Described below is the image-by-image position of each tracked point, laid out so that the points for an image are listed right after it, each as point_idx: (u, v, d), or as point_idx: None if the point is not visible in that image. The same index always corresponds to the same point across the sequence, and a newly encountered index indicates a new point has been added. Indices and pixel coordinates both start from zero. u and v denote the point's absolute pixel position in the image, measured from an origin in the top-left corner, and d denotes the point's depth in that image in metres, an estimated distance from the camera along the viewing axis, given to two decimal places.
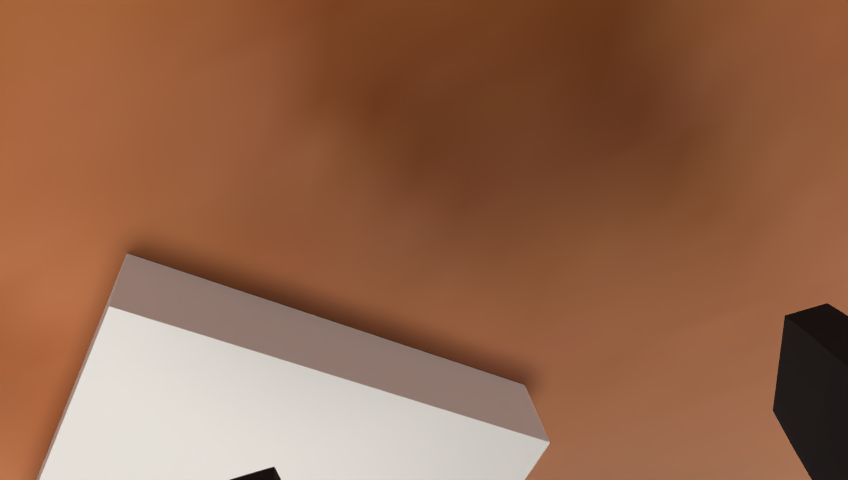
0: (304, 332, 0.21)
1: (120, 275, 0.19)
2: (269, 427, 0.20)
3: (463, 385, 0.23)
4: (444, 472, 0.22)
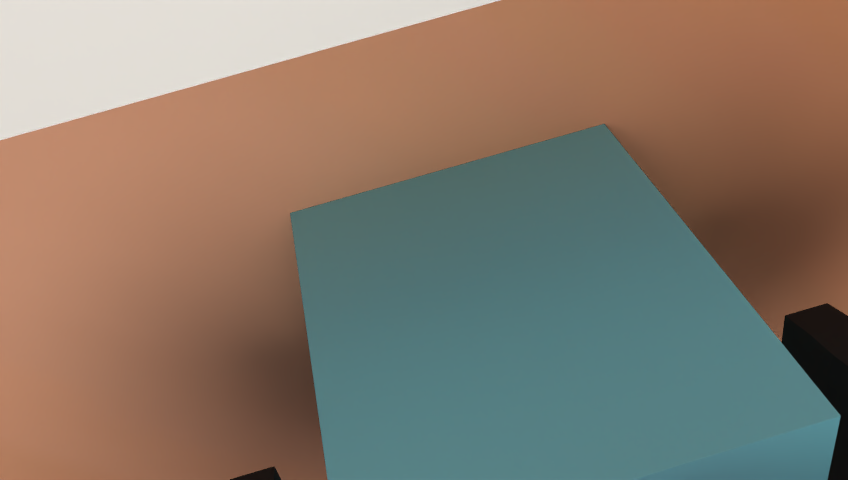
0: None
1: None
2: None
3: None
4: None
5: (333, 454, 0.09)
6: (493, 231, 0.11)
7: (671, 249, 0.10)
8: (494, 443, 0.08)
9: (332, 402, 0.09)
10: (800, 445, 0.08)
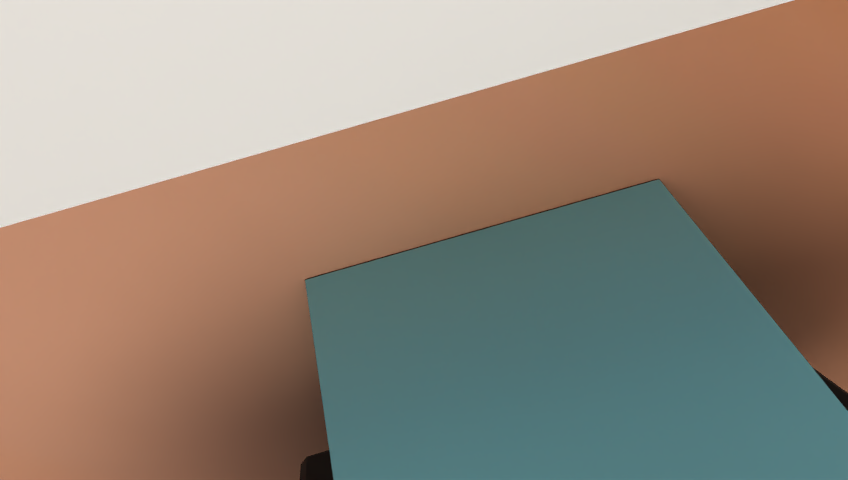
0: None
1: None
2: None
3: None
4: None
5: None
6: (540, 315, 0.10)
7: (753, 344, 0.09)
8: None
9: None
10: None
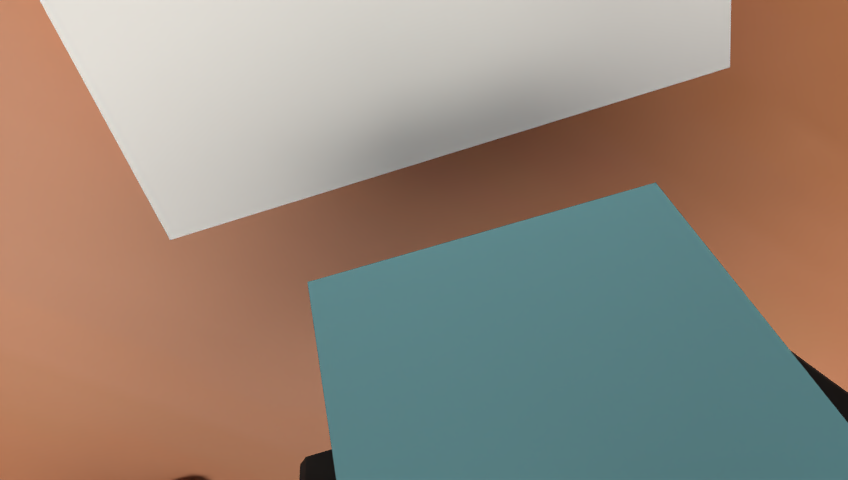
0: None
1: None
2: None
3: None
4: None
5: None
6: (539, 316, 0.10)
7: (746, 345, 0.09)
8: None
9: None
10: None
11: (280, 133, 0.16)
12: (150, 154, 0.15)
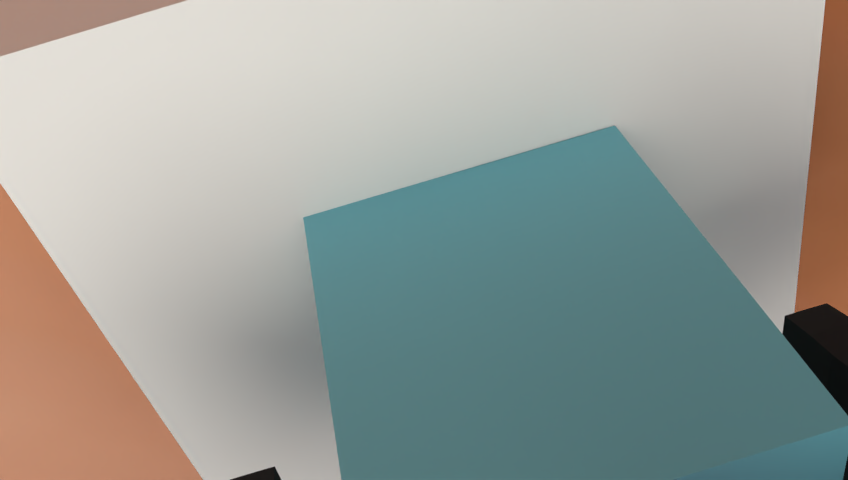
0: None
1: None
2: (696, 148, 0.13)
3: None
4: None
5: (348, 462, 0.09)
6: (505, 237, 0.11)
7: (684, 254, 0.10)
8: (508, 451, 0.08)
9: (346, 409, 0.09)
10: (813, 453, 0.08)
11: None
12: None
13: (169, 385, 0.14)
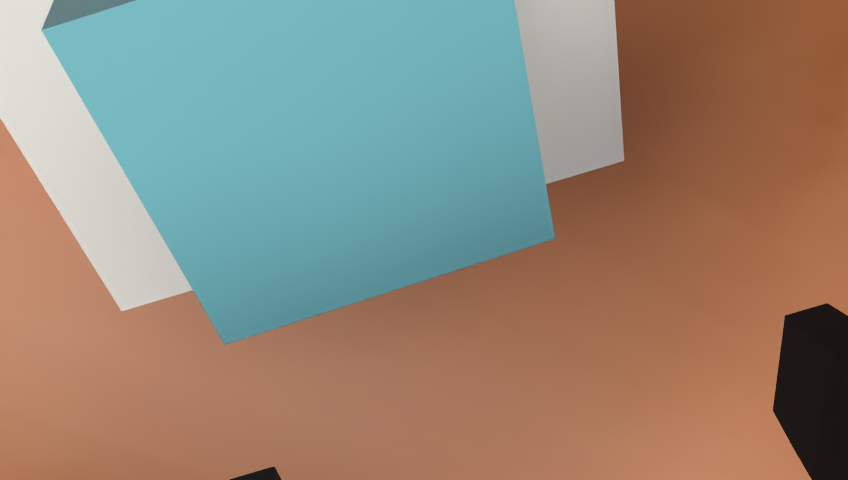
0: None
1: None
2: None
3: None
4: (533, 97, 0.17)
5: None
6: None
7: None
8: None
9: None
10: None
11: None
12: (102, 241, 0.17)
13: (4, 78, 0.15)
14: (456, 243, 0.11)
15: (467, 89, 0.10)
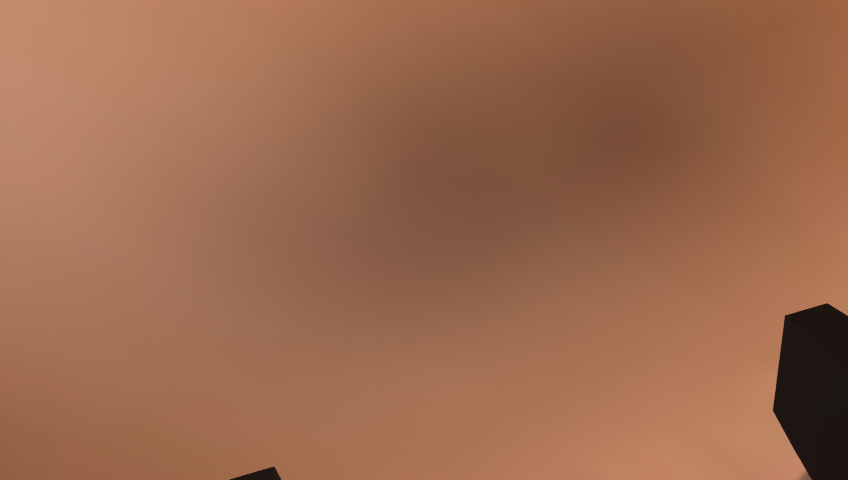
0: None
1: None
2: None
3: None
4: None
5: None
6: None
7: None
8: None
9: None
10: None
11: None
12: None
13: None
14: None
15: None
